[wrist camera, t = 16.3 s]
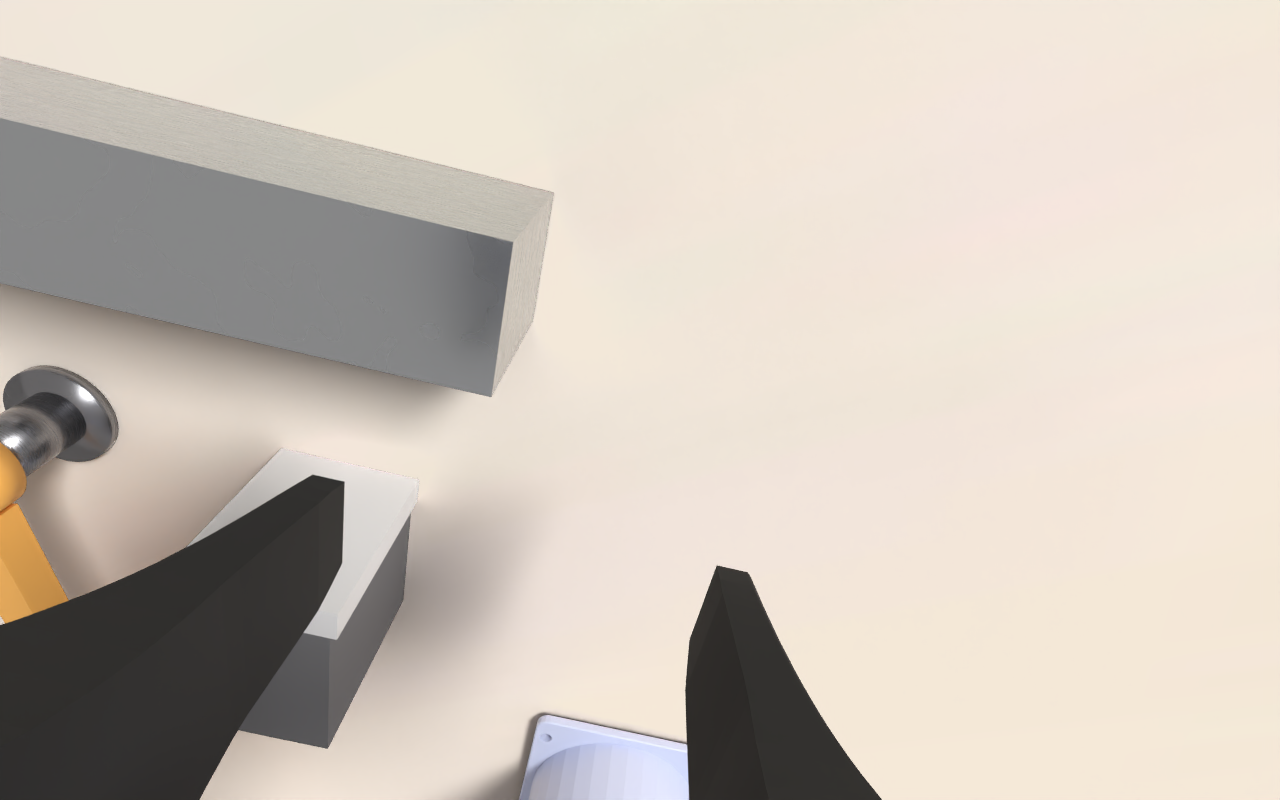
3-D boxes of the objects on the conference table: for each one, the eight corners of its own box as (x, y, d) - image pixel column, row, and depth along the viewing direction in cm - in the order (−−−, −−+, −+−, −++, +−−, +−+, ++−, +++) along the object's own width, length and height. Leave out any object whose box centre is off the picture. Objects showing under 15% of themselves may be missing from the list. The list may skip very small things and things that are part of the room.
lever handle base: (124, 465, 26) (53, 520, 23) (23, 442, 26) (-60, 495, 23) (110, 379, 24) (33, 427, 21) (3, 354, 24) (-89, 399, 21)
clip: (127, 795, 30) (100, 831, 29) (-85, 425, 21) (-137, 452, 20) (191, 799, 30) (167, 836, 28) (2, 427, 21) (-44, 455, 20)
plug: (404, 646, 29) (332, 798, 24) (285, 620, 29) (184, 767, 23) (419, 479, 25) (337, 614, 20) (281, 447, 25) (158, 575, 19)
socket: (532, 325, 22) (490, 402, 18) (9, 201, 21) (-169, 249, 17) (553, 192, 20) (513, 241, 16) (-22, 51, 19) (-232, 61, 15)
